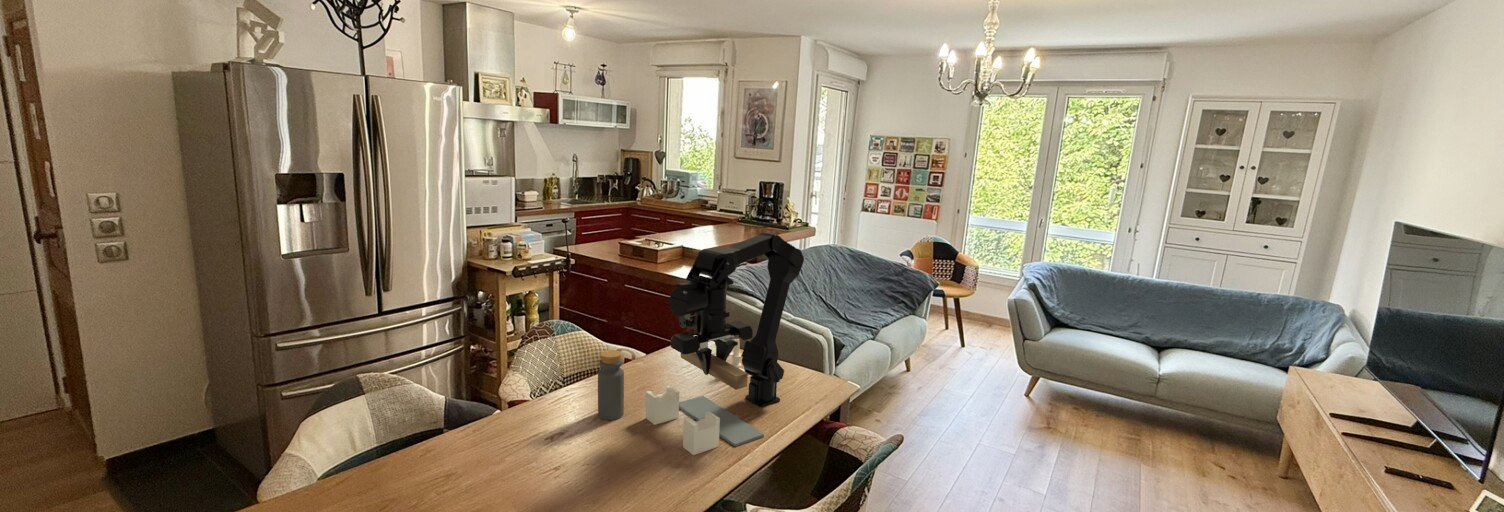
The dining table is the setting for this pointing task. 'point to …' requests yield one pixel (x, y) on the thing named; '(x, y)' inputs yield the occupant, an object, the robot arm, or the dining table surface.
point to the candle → (736, 356)
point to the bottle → (610, 386)
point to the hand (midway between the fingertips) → (712, 372)
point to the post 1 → (662, 406)
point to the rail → (721, 370)
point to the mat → (721, 420)
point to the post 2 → (701, 434)
